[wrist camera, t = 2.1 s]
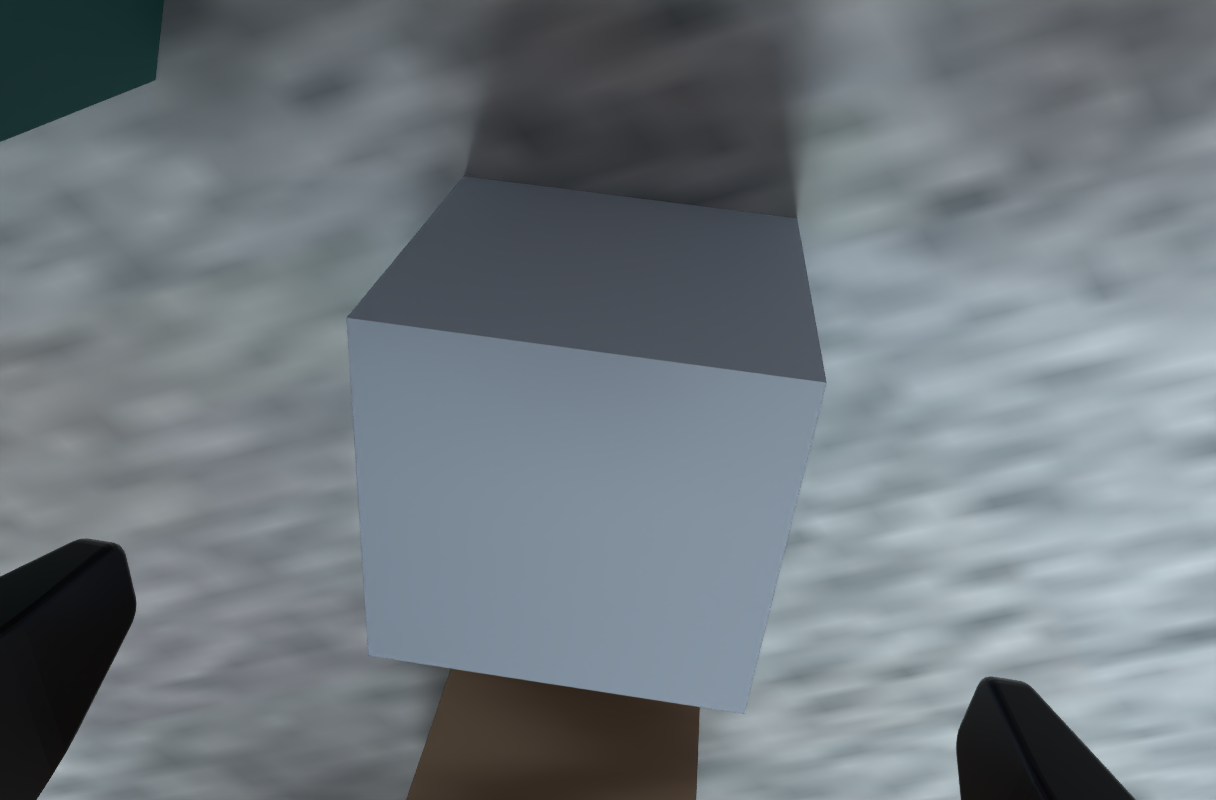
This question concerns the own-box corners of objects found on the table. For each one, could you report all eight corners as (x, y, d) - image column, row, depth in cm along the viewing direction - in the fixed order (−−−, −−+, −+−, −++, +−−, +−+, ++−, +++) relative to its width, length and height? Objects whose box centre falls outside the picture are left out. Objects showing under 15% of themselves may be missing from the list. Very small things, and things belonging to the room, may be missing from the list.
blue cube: (796, 217, 14) (825, 382, 9) (740, 486, 16) (744, 713, 12) (465, 174, 14) (346, 317, 10) (462, 446, 16) (368, 655, 12)
